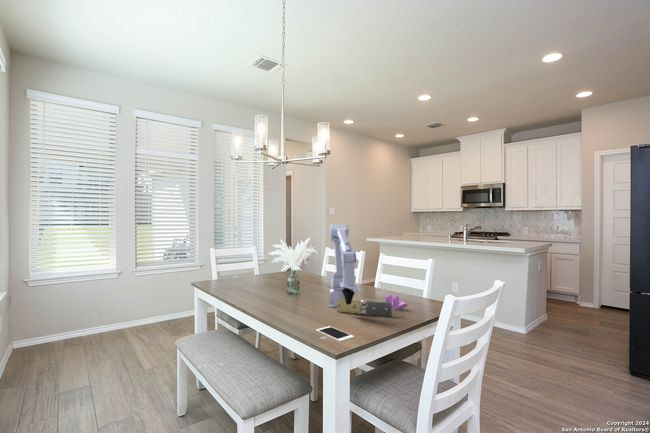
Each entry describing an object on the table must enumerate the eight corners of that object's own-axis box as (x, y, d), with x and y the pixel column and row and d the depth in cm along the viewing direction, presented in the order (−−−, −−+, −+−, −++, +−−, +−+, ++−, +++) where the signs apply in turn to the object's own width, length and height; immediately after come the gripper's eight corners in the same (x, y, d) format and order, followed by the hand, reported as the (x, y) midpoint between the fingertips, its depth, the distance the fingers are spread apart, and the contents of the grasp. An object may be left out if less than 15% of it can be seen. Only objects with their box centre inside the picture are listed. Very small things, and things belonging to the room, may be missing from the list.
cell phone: (340, 342, 124) (340, 340, 124) (315, 331, 137) (315, 329, 137) (354, 337, 129) (354, 336, 129) (329, 327, 141) (329, 325, 141)
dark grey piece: (360, 314, 158) (360, 300, 158) (361, 313, 160) (361, 299, 160) (391, 316, 155) (391, 302, 155) (391, 315, 157) (391, 301, 157)
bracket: (395, 310, 167) (395, 296, 167) (386, 308, 170) (386, 295, 170) (406, 304, 177) (406, 292, 177) (397, 303, 180) (397, 290, 180)
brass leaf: (366, 313, 160) (366, 300, 160) (365, 314, 157) (365, 301, 157) (338, 310, 165) (338, 298, 165) (336, 311, 162) (336, 299, 162)
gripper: (334, 274, 161) (334, 301, 161) (349, 279, 148) (349, 308, 148) (346, 273, 164) (346, 299, 164) (362, 278, 151) (362, 306, 151)
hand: (348, 304), depth 156 cm, fingers closed
